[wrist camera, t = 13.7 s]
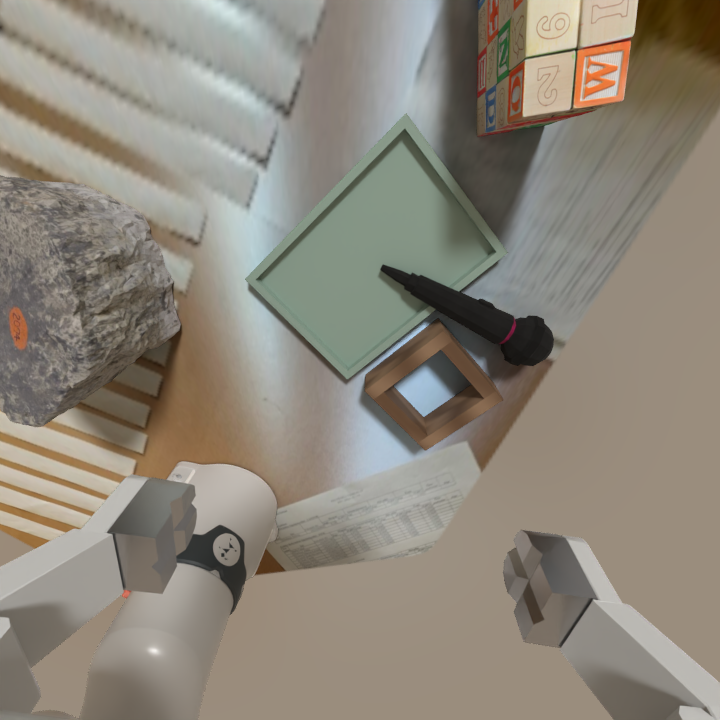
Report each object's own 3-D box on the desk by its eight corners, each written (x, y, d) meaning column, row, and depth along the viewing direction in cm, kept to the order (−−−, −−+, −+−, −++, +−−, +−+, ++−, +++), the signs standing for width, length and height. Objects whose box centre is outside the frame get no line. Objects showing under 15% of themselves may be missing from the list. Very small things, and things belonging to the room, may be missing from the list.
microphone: (395, 238, 40) (554, 321, 42) (371, 285, 42) (523, 363, 44) (393, 244, 35) (574, 338, 37) (366, 297, 38) (537, 384, 39)
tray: (348, 373, 46) (347, 379, 44) (249, 275, 41) (244, 279, 40) (503, 250, 39) (507, 252, 38) (405, 116, 34) (406, 113, 33)
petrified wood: (54, 153, 37) (-132, 136, 23) (216, 249, 40) (134, 283, 27) (20, 307, 44) (-138, 362, 31) (159, 379, 48) (73, 457, 34)
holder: (421, 430, 49) (425, 450, 45) (365, 374, 46) (364, 390, 42) (493, 382, 46) (503, 399, 42) (438, 317, 42) (443, 330, 39)
